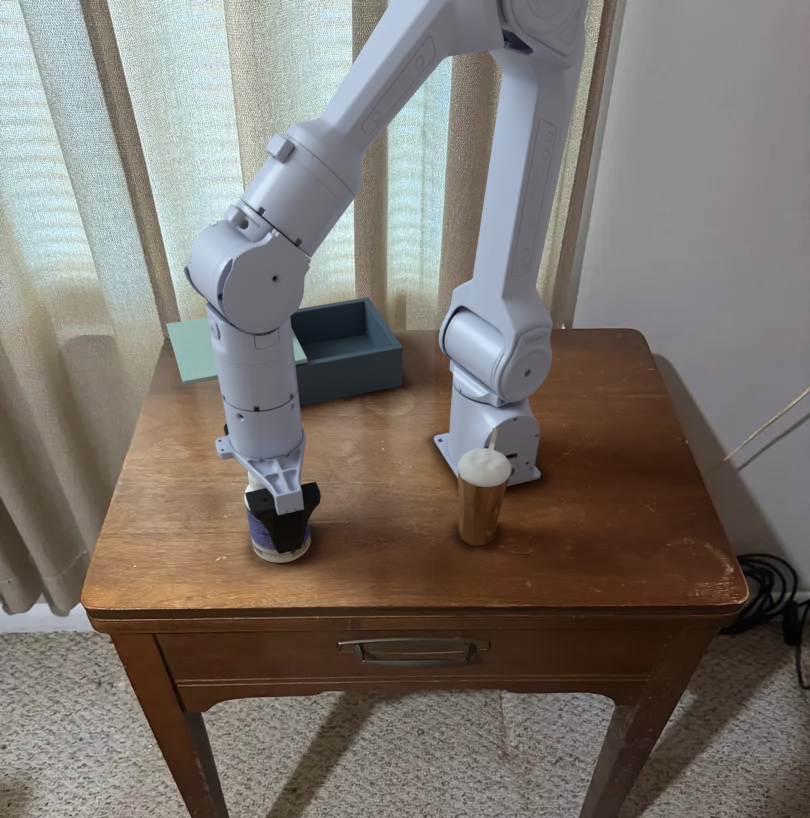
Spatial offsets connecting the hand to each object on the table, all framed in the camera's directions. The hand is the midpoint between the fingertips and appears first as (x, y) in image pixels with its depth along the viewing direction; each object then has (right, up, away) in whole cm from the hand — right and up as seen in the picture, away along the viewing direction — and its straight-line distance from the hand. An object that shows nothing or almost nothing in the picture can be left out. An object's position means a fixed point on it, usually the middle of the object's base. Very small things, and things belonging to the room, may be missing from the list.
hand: (278, 519), depth 67 cm
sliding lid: (-7, +20, +16) cm, 26 cm away
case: (+3, +18, +22) cm, 29 cm away
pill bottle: (0, -2, +2) cm, 3 cm away
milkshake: (+18, -1, +4) cm, 18 cm away
